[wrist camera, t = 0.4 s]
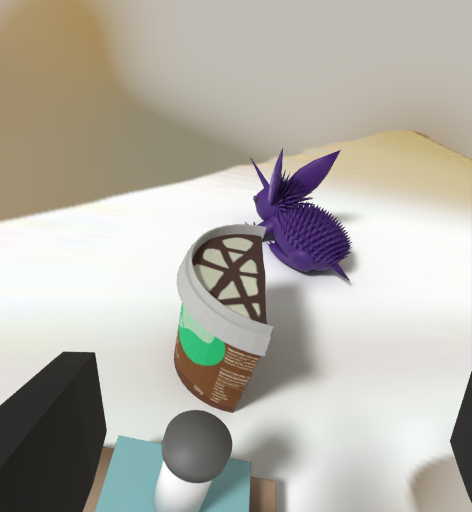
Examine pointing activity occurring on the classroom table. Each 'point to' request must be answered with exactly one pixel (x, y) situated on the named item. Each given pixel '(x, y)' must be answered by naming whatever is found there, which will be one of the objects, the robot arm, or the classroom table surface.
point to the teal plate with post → (178, 471)
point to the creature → (301, 219)
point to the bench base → (259, 500)
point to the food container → (222, 314)
